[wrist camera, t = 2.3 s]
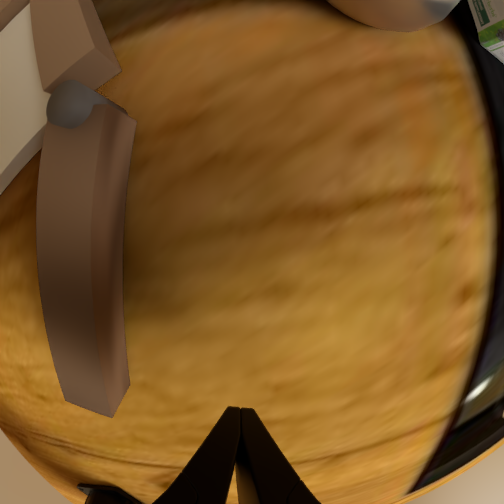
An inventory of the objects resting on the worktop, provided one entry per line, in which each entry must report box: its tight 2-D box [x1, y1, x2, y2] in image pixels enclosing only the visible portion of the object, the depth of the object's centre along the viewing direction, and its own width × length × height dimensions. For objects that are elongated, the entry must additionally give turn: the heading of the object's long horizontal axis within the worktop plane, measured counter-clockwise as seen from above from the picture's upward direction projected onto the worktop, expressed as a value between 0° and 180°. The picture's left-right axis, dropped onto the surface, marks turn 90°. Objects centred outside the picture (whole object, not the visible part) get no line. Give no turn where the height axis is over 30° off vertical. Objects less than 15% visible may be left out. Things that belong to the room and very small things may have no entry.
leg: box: [36, 80, 137, 418], centre depth 8 cm, size 12×2×3 cm, turn 172°
